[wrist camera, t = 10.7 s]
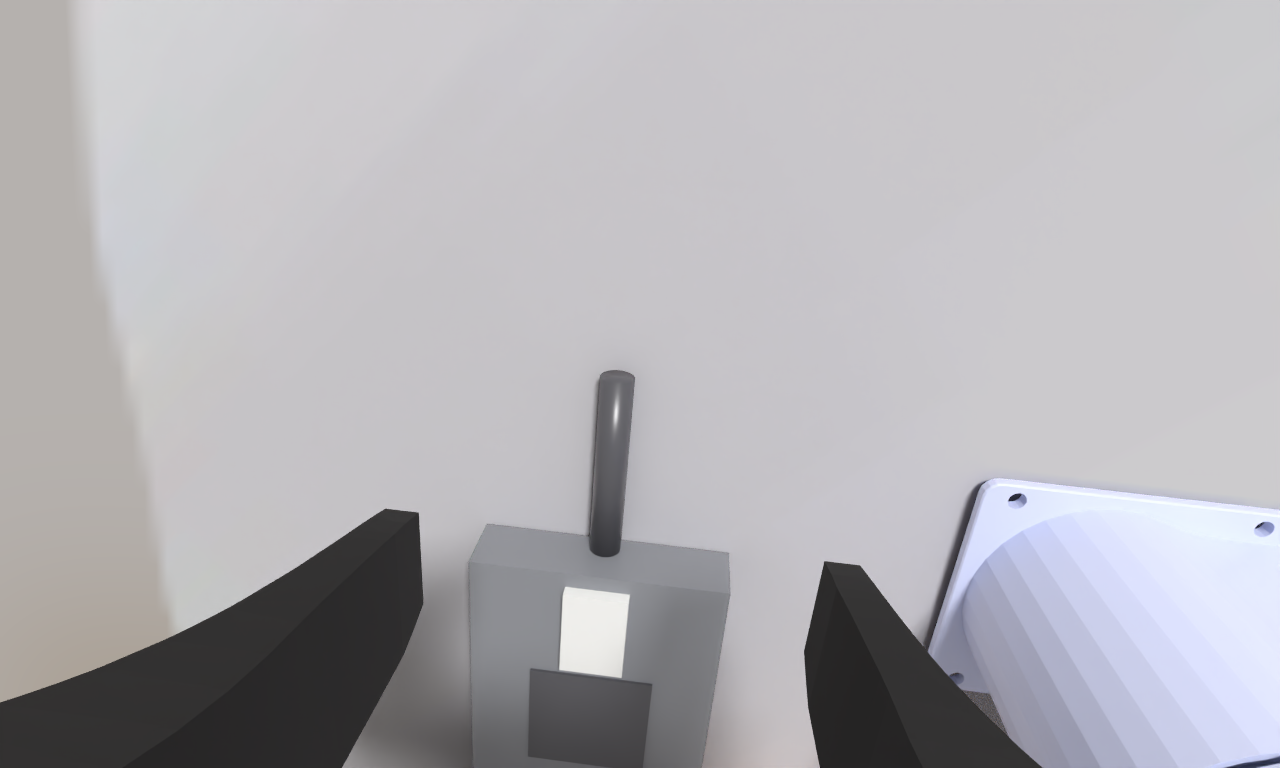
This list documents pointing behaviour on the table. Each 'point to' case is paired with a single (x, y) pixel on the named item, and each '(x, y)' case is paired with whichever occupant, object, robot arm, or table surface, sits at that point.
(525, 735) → the power strip
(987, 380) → the table surface
